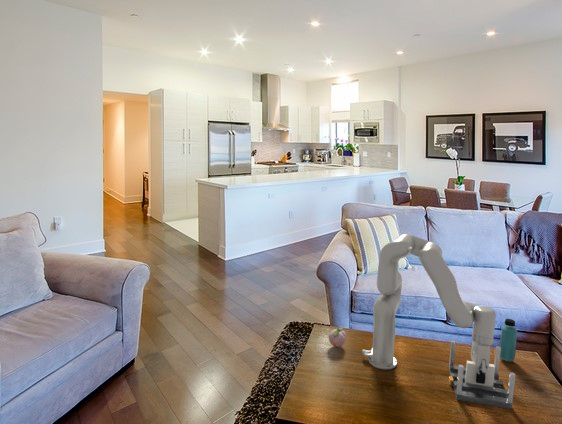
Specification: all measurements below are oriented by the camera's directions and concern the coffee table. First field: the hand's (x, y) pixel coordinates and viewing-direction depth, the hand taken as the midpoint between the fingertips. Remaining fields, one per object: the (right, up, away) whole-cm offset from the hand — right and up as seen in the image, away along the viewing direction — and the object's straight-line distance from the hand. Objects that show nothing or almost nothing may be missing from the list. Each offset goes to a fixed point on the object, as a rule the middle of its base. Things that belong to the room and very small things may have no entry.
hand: (478, 378), depth 151 cm
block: (0, -3, 0) cm, 3 cm away
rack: (0, -4, +1) cm, 4 cm away
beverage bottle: (+24, -1, +20) cm, 31 cm away
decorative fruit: (-53, +1, +32) cm, 62 cm away
